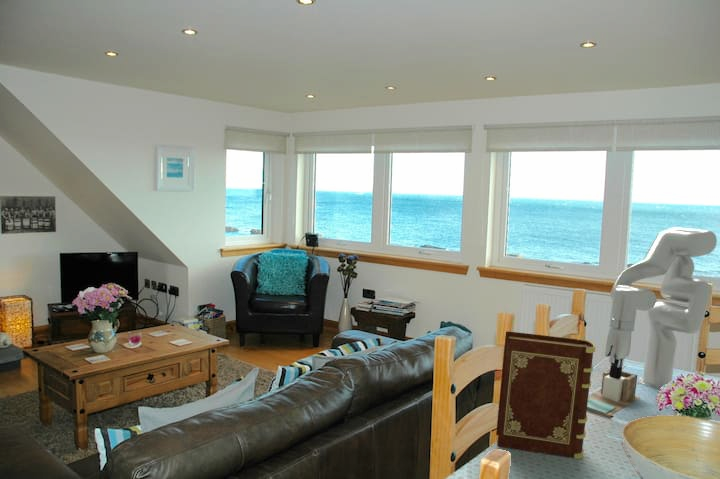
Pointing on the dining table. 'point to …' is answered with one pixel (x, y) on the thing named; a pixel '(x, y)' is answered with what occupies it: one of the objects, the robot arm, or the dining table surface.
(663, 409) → the dining table surface
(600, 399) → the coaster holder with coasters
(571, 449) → the decorative book
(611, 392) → the carton
